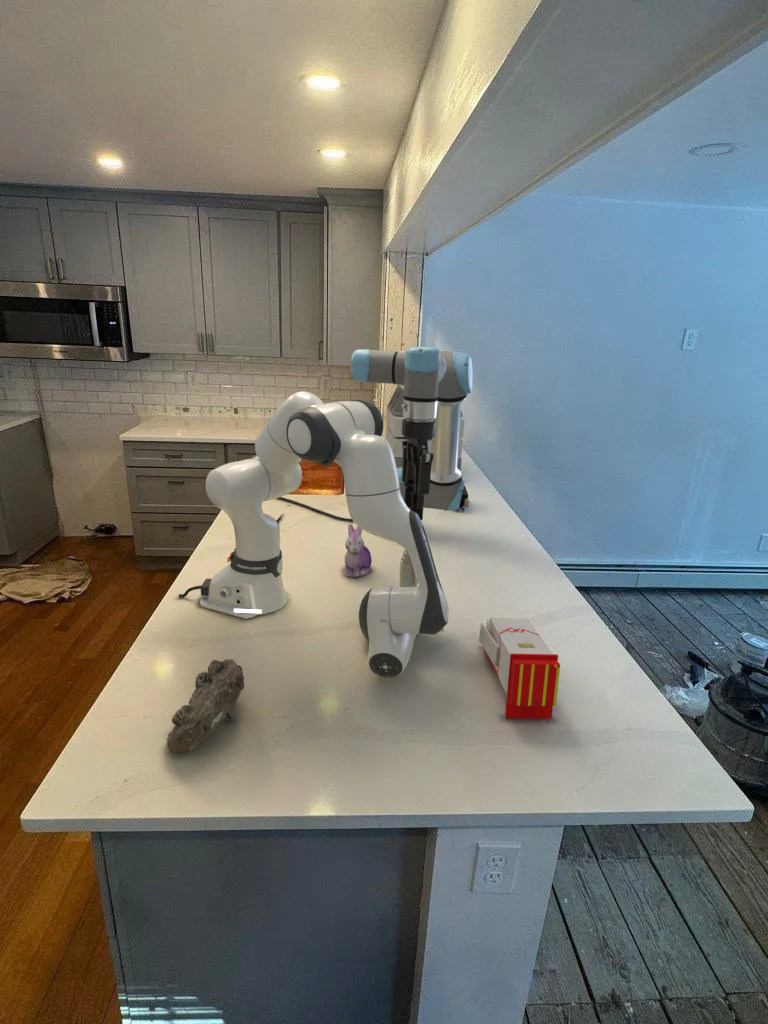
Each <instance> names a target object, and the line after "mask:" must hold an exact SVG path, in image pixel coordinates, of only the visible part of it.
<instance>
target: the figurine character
mask: <svg viewBox="0 0 768 1024" xmlns="http://www.w3.org/2000/svg"><path fill="white" fill-rule="evenodd" d="M469 505H470V500H469V492H468V490H467V488H466V485H464V487H463V492H462V496H461V500H460V505H459V508H458V509H461V511H462V512H464V511H465V508H469ZM458 509H457V510H455V511H456V512H457V511H458Z"/></svg>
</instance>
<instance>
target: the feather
mask: <svg viewBox="0 0 768 1024" xmlns="http://www.w3.org/2000/svg"><path fill="white" fill-rule="evenodd" d="M283 515H284V513H282V514H281V515H280V516H279V517H278V518H277V519H276V521H277V522H278V523H279V522H280V520H281V519H282V517H283Z"/></svg>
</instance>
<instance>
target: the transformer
mask: <svg viewBox="0 0 768 1024" xmlns="http://www.w3.org/2000/svg"><path fill="white" fill-rule="evenodd" d="M403 400H404V387H403V386H401V385H396V388H395V390H394V392H393V394H392V395H391V398H390V400H389V402H388V404H387V405H386V413H385V414H386V415H385V423H386V428H385V437H384V438H385V439H386V440H387V441H388V442H389V443H390V445H391V448H392V451H393V454H394V458H395V462H396V466H397V468H401V467H402V461H403V446H402V442H403V441H407V439H408V438H406V437H404V436H403V435H402V420H403V419H404V418H405V417H403V409H402V408H401V405H402V404H403ZM464 429H465V419H464V418H463V411H461V414H460V429H459V444H458V460H457V468H458V469H459V470H460V472H461V473H462V461H463V460H462V453H463V442H464V441H463V440H462V439H463V438H464V431H465V430H464ZM428 452H429V453H432V438H430V439H429V440H428Z"/></svg>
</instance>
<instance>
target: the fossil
mask: <svg viewBox="0 0 768 1024" xmlns="http://www.w3.org/2000/svg"><path fill="white" fill-rule="evenodd" d="M243 670H244V669H243V667H242V665H240V664H237V662H236V661H235V660H234V659H232V658H231V659H227V658H226V659H224V660H223V661H222V660H217V659H212V660H211V661H210V663H209V665H208V666H207V671H201V672H199V673H198V674H197V675H196V676H195V680H194V684H195V685H194V687H195V689H194V690H193V693H192V694H191V697H190V698H189V700H188V704H184V705H182V706H181V707H180V709H177V710H176V711H175V713H174V715H173V716H172V718H171V723H172V724H173V727H172V730H171V731H170V732H168V734H167V738H166V741H167V742H166V745H167V749H168V750H169V751H173V752H174V753H176V754H178V753H182V752H188V751H189V752H192V751H193V750H195V748H196V747H197V746H199V744H200V743H201V742H203V741H204V740H205V739H206V738H207V737H208V736H209V735H210V734H211V733H212V732H214V730H215V729H217V727H218V726H219V724H220V722H221V721H222V720H223V719H224V718H225V716H226V717H227V719H229V720H233V717H232V715H230V714H229V710H230V709H231V708H234V706H235V704H236V703H237V702H238V699H239V697H240V695H241V693H242V691H243V690H245V689H244V688H245V675H244V671H243Z"/></svg>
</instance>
